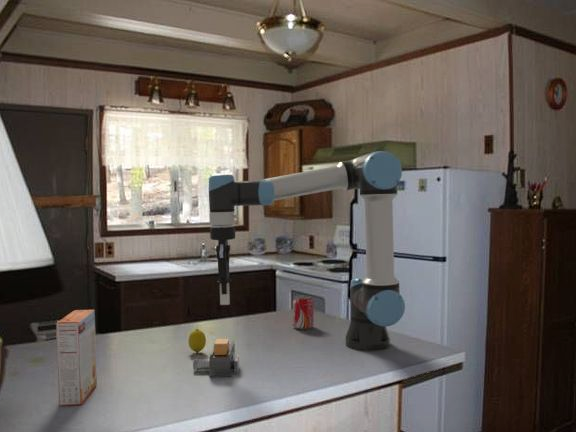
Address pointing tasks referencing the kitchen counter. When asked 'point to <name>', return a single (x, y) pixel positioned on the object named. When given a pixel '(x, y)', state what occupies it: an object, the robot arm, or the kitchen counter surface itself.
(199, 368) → the pin
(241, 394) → the kitchen counter surface
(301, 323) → the beverage can
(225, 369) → the block
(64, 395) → the cracker box
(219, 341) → the block
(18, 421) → the kitchen counter surface
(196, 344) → the lemon
